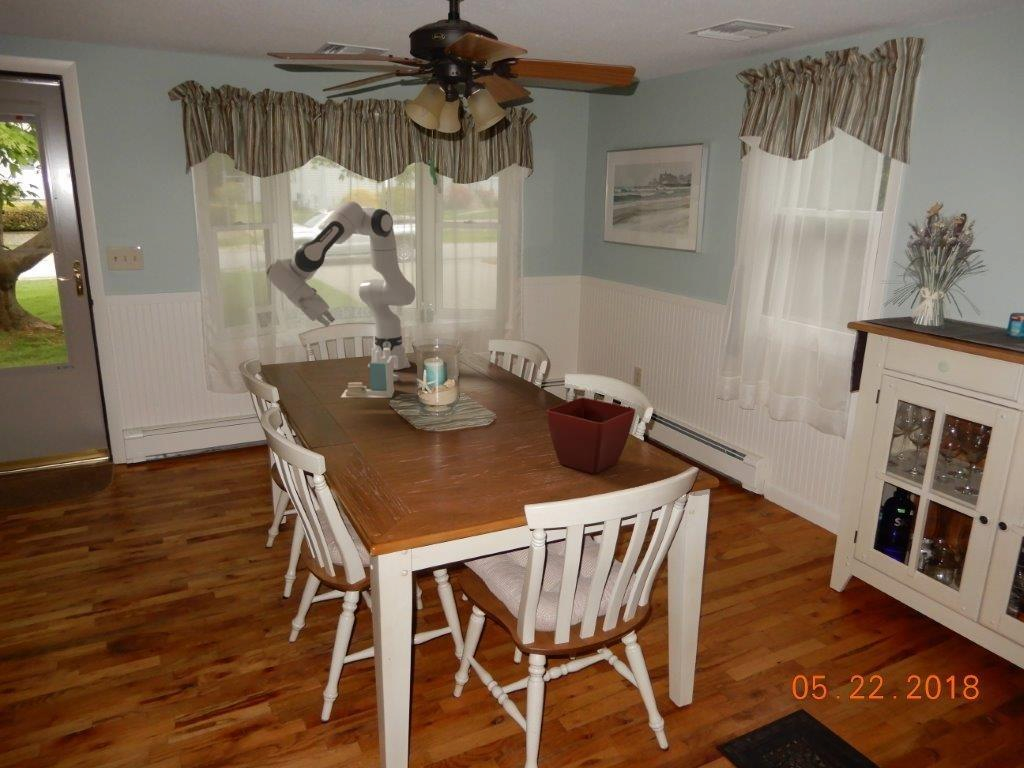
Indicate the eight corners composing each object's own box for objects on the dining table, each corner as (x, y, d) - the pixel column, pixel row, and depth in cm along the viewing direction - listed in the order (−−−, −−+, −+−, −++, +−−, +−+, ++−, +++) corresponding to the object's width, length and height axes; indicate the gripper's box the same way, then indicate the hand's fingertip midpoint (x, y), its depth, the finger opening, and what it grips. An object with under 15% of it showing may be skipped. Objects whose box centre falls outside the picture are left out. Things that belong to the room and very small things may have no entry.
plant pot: (580, 447, 224) (582, 396, 219) (633, 462, 212) (636, 408, 208) (543, 464, 209) (544, 409, 205) (598, 481, 198) (601, 423, 193)
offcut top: (348, 387, 275) (348, 382, 274) (362, 386, 276) (362, 382, 275) (347, 391, 269) (347, 387, 268) (362, 391, 270) (361, 386, 269)
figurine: (401, 384, 292) (401, 348, 288) (380, 387, 287) (378, 351, 283) (395, 380, 298) (394, 345, 294) (373, 383, 293) (372, 347, 289)
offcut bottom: (349, 390, 277) (349, 385, 277) (366, 390, 277) (366, 386, 277) (345, 396, 269) (345, 391, 269) (363, 396, 270) (363, 391, 269)
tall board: (371, 392, 274) (370, 362, 271) (386, 392, 275) (386, 362, 272) (370, 393, 273) (369, 363, 270) (386, 394, 273) (385, 363, 270)
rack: (346, 393, 279) (344, 355, 275) (394, 393, 280) (393, 355, 276) (340, 401, 268) (338, 362, 264) (391, 401, 269) (390, 362, 265)
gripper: (302, 294, 254) (331, 321, 257) (315, 287, 274) (341, 313, 277) (290, 306, 255) (319, 333, 258) (304, 299, 275) (330, 324, 278)
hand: (331, 323), depth 268 cm, fingers open, 8 cm apart
